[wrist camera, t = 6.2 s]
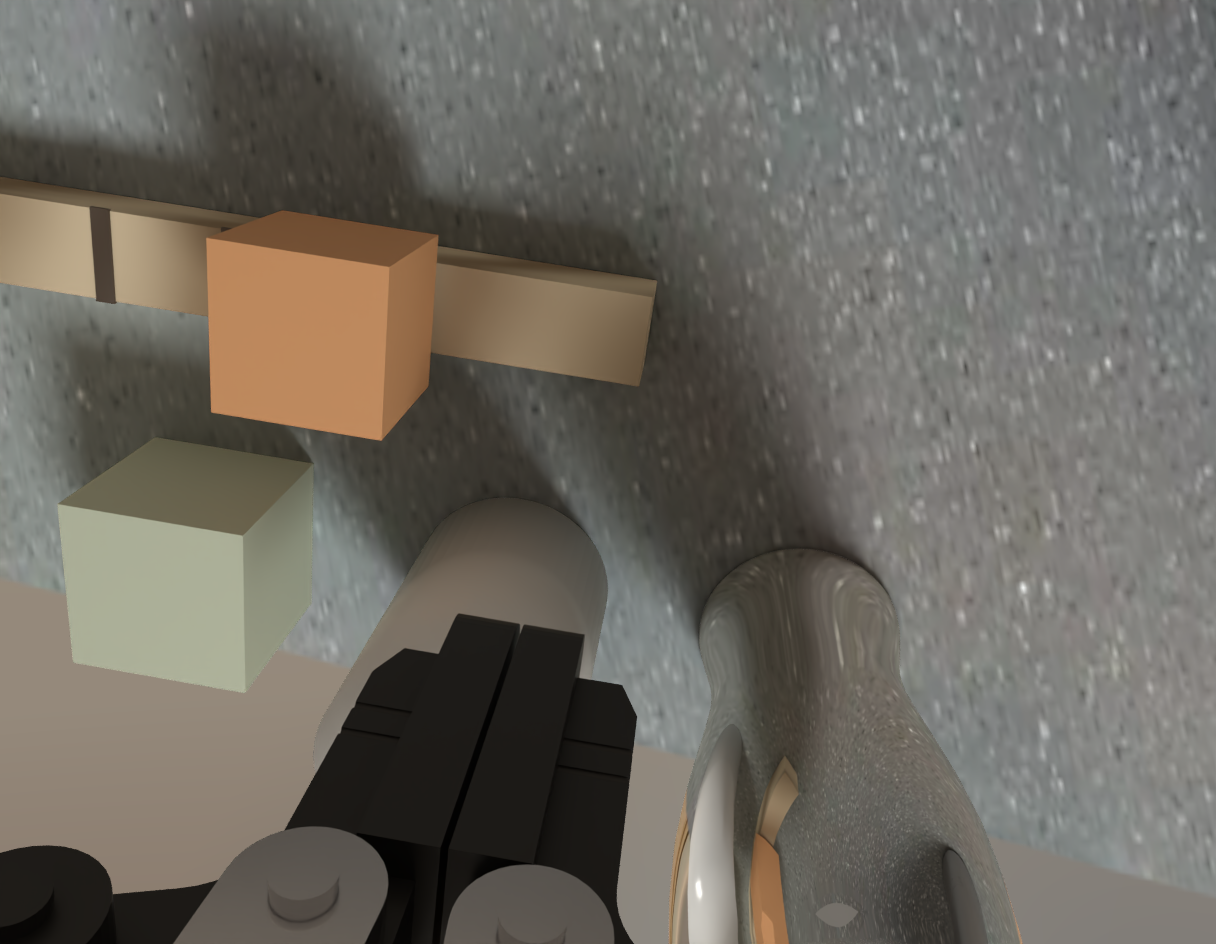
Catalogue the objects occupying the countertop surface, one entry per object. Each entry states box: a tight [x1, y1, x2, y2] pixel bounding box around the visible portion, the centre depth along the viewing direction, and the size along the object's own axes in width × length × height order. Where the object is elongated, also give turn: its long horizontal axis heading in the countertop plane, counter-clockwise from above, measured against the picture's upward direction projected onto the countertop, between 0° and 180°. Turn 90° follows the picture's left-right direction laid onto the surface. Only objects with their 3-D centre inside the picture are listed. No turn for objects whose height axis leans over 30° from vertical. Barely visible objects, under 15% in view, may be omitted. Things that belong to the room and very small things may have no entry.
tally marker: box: [206, 210, 438, 441], centre depth 24 cm, size 4×4×4 cm
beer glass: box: [668, 548, 1023, 944], centre depth 24 cm, size 7×7×15 cm
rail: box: [0, 177, 657, 386], centre depth 27 cm, size 22×2×2 cm, turn 82°
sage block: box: [58, 437, 314, 693], centre depth 29 cm, size 5×5×5 cm
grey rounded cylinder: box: [313, 498, 608, 774], centre depth 27 cm, size 6×6×9 cm
